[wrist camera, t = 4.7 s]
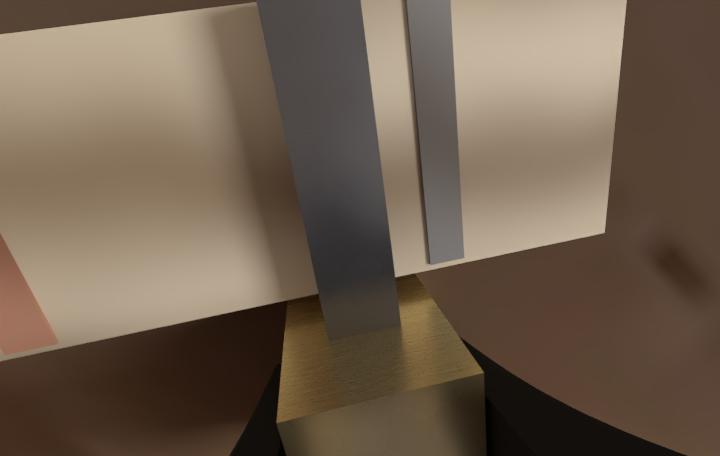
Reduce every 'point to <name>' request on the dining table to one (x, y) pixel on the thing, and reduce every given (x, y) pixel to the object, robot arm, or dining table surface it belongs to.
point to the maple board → (283, 156)
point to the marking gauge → (356, 267)
